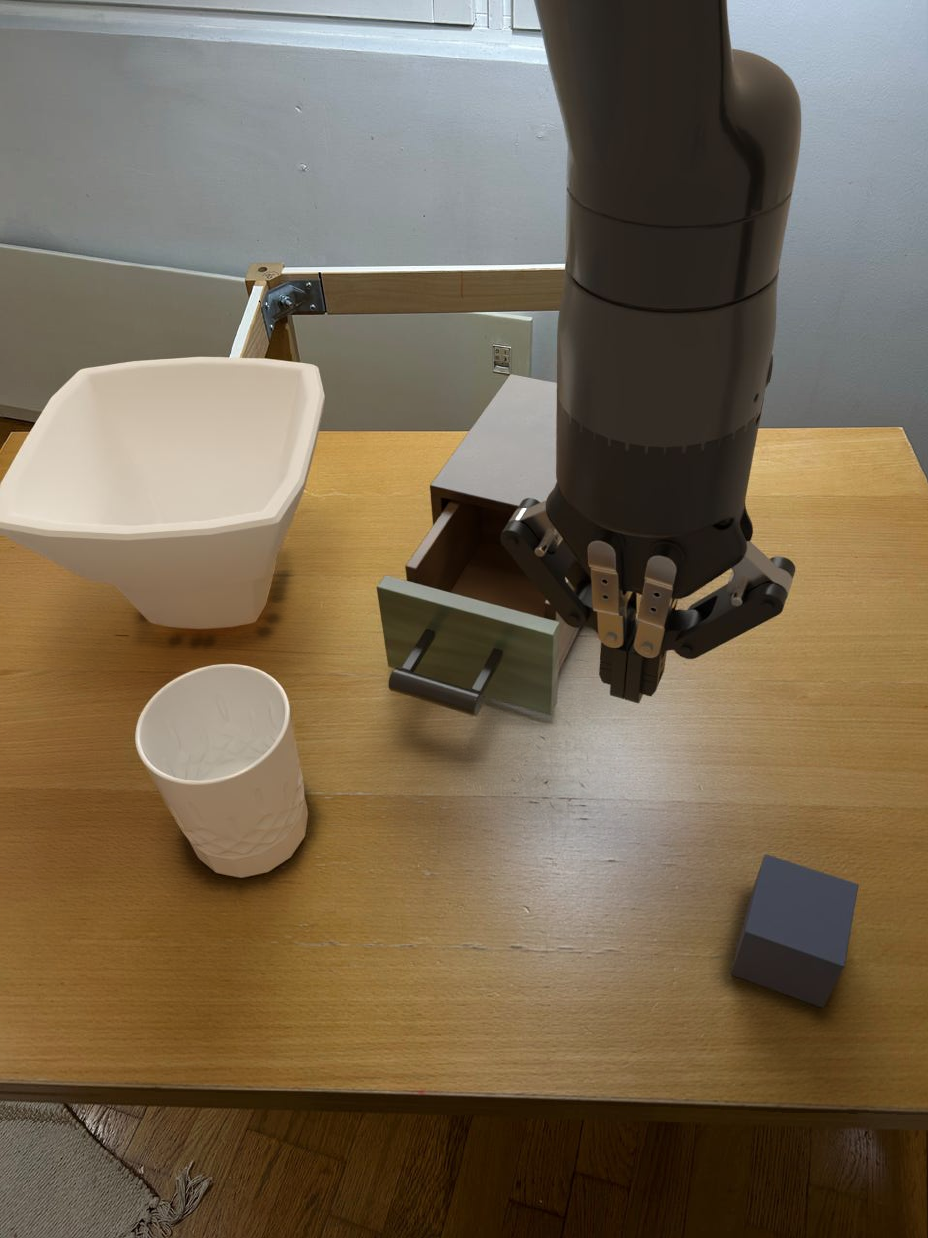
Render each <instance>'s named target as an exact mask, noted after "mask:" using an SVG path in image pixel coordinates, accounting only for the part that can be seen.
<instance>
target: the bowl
mask: <svg viewBox="0 0 928 1238" xmlns="http://www.w3.org/2000/svg"><path fill="white" fill-rule="evenodd" d="M325 396H326V395H325V391H324V387H323V382H322V377H321V374H320V369H319V367H318V366H317V365H314V364H313V363H305V362H299V361H298V362H296V361H289V360H281V359H272V358H261V357H259V358H258V357H257V358H256V357H223V356H190V357H178V358H162V359H160V358H159V359H148V360H133V361H126V362H119V363H112V364H105V365H99V366H91V367H85V368H81V369H79V370H77V372H76V373H75V374H73V376H72V377H70V379H69V380H68V381H66V382H65V383H64V384H63V386H61V387H60V388H59V389H58V390H57V392H55V393H54V394H53V395H52V396H51V397H50V399H49V400H48V402H47V403H46V405H45V407H44V408H43V410H42V412H41V413H40V415H39V416H38V418H37V420H36V422H35V423H34V425H33V427H32V428H31V430H30V432H28V434H27V436H26V438H25V439H24V442H23V443H22V445H21V447H20V448H19V450H18V452H17V454H16V455H15V458H14V459H13V460H12V463H10V466H9V467H8V469H7V471H6V473H5V475H4V477H3V478H2V480H1V481H0V535H1V536H3V537H5V538H7V539H9V540H11V541H12V542H14V543H16V544H19V545H20V546H22V547H24V548H25V549H28V550H30V551H31V552H33V553H35V554H37V555H39V556H41V557H43V558H45V559H47V560H49V561H50V562H52V563H54V564H56V565H58V566H60V567H62V568H63V569H66V570H68V571H70V572H71V573H73V574H76V575H77V576H79V577H81V578H83V579H85V580H87V581H90V582H95V583H101V584H106V585H113V586H114V587H115V588H116V589H117V590H118V591H119V592H120V594H122V596H124V598H125V599H126V600H127V601H128V602H129V603H130V604H131V605H132V606H133V607H134V608H135V609H136V610H137V612H139V614H141V615H142V616H143V617H144V618H145V619H146V621H148V622H149V623H151V624H153V625H158V626H162V627H168V628H173V629H175V628H176V629H189V630H210V629H211V630H213V629H224V628H226V629H227V628H235V627H240V626H245V625H246V626H247V625H251V624H254V623H256V622H257V621H258V619H259V617H260V615H261V614H262V612H263V611H264V609H265V607H266V606H267V602H268V598H269V594H270V590H271V586H272V583H273V578H274V573H275V570H276V565H277V558H278V555H279V553H280V551H281V549H282V546H283V544H284V542H285V539H286V536H287V533H288V532H289V529H290V526H291V524H292V521H293V520H294V517H295V514H296V512H297V510H298V507H299V505H300V502H301V499H302V497H303V495H304V491H305V488H306V485H307V482H308V477H309V474H310V470H311V467H312V466H311V465H312V461H313V457H314V454H315V450H316V447H317V442H318V438H319V432H320V427H321V424H322V423H321V422H322V418H323V414H324V409H325V404H326V397H325Z"/></svg>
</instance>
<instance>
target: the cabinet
mask: <svg viewBox="0 0 928 1238" xmlns="http://www.w3.org/2000/svg"><path fill="white" fill-rule="evenodd" d="M556 414H557V382H554V381H550V380H543V379H540V378H539V379H538V378H533V377H527V376H523V375H519V374H513V373H510V374H509V375H508V377H507V378H506V379H505V381H504V382H503V383H502V385H501V386H500V388H499V389H498V390H497V392H496V393H495V395H494V396H493V397H492V399H491V400H490V401H489V403H488V404H487V406H486V407H485V409H484V410H483V412H481V414H480V415H479V417H478V418H477V420H476V421H475V422H474V424H473V425H472V426H471V428H470V429H469V431H468V432H467V433H466V435H465V436H464V437H463V439H462V440H461V442H460V443H459V445H458V446H457V447H456V448H455V450H454V451H453V453H452V454H451V456H450V457H449V458H448V459H447V461H446V463H445V464H444V465H443V467H442V468H441V469H440V471H439V472H438V474H437V475H436V476H435V478H434V479H433V480H432V481H431V483H430V485H429V491H430V505H431V506H430V507H431V517H432V518H431V519H432V526H433V525H434V524H435V522H436V521H437V519H438V518H439V516H440V515H441V513H442V512H443V511H444V509H445V508H446V506H447V505H448V503H449V502H450V500H455V501H459V502H464V503H468V504H472V505H476V506H480V507H485V508H489V509H493V510H497V511H501V512H506V513H510V514H514V513H515V511H516V510H517V508H518V506H519V505H520V503H521V502H522V501H523V500H524V499H526V498H533V499H536V500H538V501H539V502H540V503H541V502H543V501H546V500H547V498H548V496H549V494H550V493H551V491H552V490H553V489H554V487H555V485H556V482H557V479H556Z"/></svg>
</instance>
